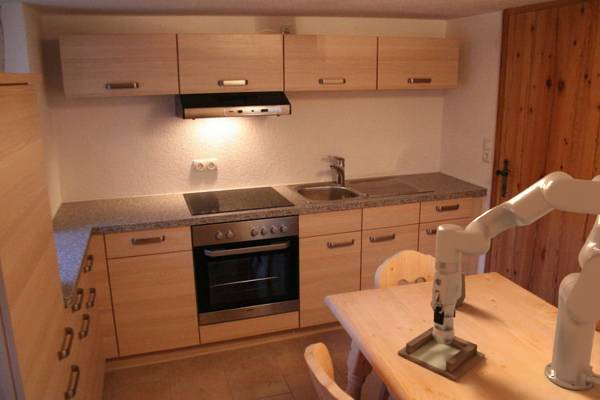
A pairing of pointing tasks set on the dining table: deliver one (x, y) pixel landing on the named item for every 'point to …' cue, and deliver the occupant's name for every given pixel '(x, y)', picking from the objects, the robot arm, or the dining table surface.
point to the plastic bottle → (445, 325)
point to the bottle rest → (442, 355)
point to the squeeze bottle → (461, 299)
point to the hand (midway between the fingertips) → (444, 319)
